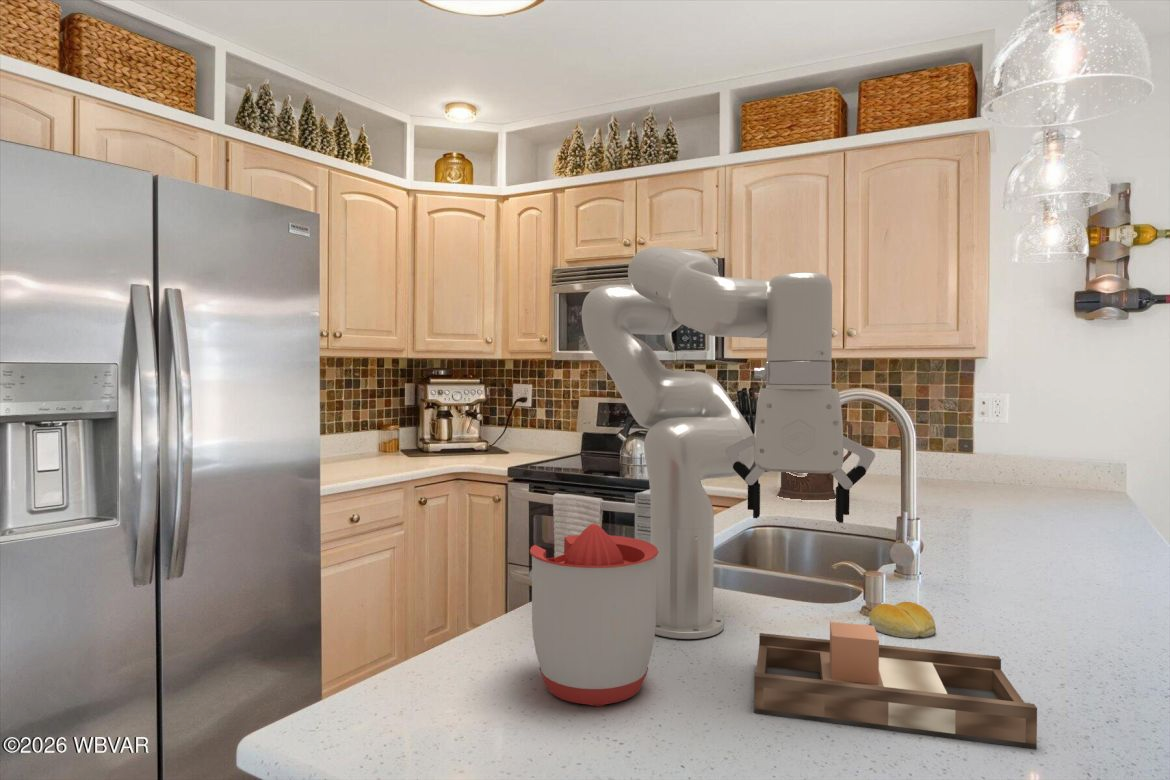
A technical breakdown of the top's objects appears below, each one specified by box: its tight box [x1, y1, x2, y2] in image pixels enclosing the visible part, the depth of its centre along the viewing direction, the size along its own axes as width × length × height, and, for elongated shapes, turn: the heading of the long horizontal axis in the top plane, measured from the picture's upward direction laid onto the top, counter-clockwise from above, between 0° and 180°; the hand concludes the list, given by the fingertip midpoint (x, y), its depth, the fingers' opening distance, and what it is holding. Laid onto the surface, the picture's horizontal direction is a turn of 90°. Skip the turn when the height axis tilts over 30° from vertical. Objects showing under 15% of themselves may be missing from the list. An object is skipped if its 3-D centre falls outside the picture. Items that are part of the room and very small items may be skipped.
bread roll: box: [868, 601, 937, 639], centre depth 107 cm, size 8×9×4 cm
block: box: [829, 621, 880, 684], centre depth 84 cm, size 5×5×5 cm
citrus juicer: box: [528, 523, 658, 707], centre depth 88 cm, size 16×17×20 cm
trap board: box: [753, 632, 1038, 750], centre depth 83 cm, size 28×14×4 cm, turn 74°
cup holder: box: [776, 419, 853, 500], centre depth 222 cm, size 18×24×25 cm
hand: (797, 518), depth 86 cm, fingers open, 9 cm apart
